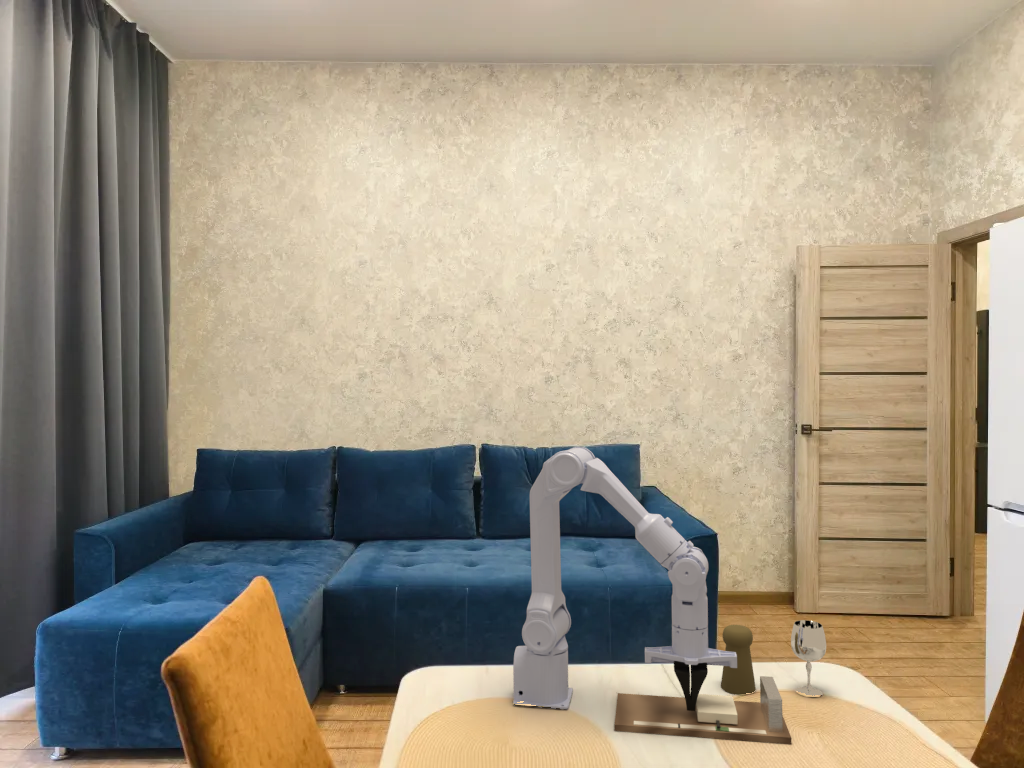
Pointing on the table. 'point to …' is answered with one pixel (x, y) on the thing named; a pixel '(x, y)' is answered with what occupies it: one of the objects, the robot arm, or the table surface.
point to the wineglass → (808, 648)
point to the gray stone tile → (771, 704)
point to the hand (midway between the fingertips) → (690, 708)
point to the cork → (738, 661)
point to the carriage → (716, 709)
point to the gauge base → (691, 720)
